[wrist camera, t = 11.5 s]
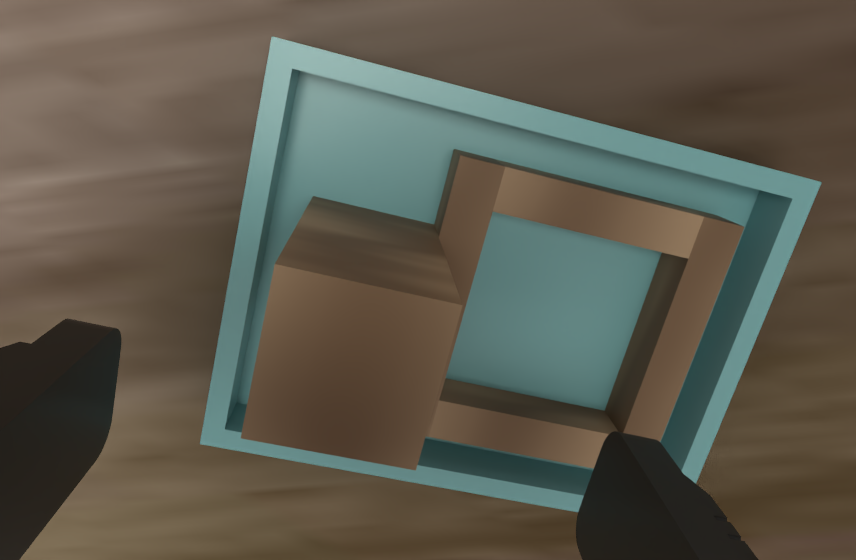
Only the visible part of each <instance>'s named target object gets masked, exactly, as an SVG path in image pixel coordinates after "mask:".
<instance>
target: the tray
mask: <svg viewBox="0 0 856 560" xmlns="http://www.w3.org/2000/svg"><path fill="white" fill-rule="evenodd" d="M454 149H457V150H461V151H465V152H469V153H473V154H477V155H481V156H485V157H489V158H493V159H496V160H500V161H504V162H508V163H512V164H516V165H520V166H524V167H528V168H532V169H536V170H540V171H544V172H548V173H552V174H556V175H560V176H564V177H568V178H572V179H576V180H580V181H584V182H588V183H592V184H596V185H599V186H603V187H607V188H611V189H615V190H619V191H623V192H627V193H631V194H635V195H639V196H643V197H647V198H651V199H655V200H659V201H663V202H667V203H671V204H675V205H679V206H683V207H687V208H691V209H695V210H698V211H702V212H706V213H710V214H714V215H718V216H720V217H722V218H725V219H727V220H729V221H732V222H734V223H737V224H739V225H741V226H744V230H743V232H742V235H741V237H740V240H739V243H738V245H737V248H736V250H735V253H734V255H733V258H732V260H731V263H730V265H729V268H728V271H727V273H726V276H725V278H724V281H723V283H722V286H721V288H720V291H719V293H718V296H717V299H716V301H715V304H714V306H713V309H712V311H711V314H710V316H709V319H708V321H707V324H706V326H705V329H704V332H703V334H702V337H701V339H700V342H699V344H698V347H697V349H696V352H695V354H694V357H693V360H692V362H691V365H690V367H689V370H688V372H687V375H686V377H685V380H684V382H683V385H682V388H681V390H680V393H679V395H678V398H677V400H676V403H675V405H674V408H673V410H672V413H671V416H670V418H669V421H668V423H667V426H666V428H665V431H664V433H663V436H662V438H661V441H660V443H661V444H662V445H663V446H664V448H665V449H666V451H667V452H668V453H669V455H670V456H671V457H672V459H673V460H674V462H675V463H676V464H677V466H678V467H679V469H680V470H681V471H682V473H683V474H684V475H686V476H687V477H688V478H689V479H690V480H692V481H693V482H694V483H695V484H696V482H697V480H698V477H699V475H700V472H701V470H702V468H703V465H704V463H705V460H706V458H707V456H708V453H709V451H710V448H711V446H712V444H713V441H714V439H715V436H716V434H717V432H718V429H719V427H720V424H721V422H722V420H723V417H724V415H725V412H726V410H727V408H728V405H729V403H730V400H731V398H732V396H733V393H734V391H735V389H736V386H737V384H738V381H739V379H740V377H741V374H742V372H743V369H744V367H745V365H746V362H747V360H748V357H749V355H750V353H751V350H752V348H753V345H754V343H755V341H756V338H757V336H758V333H759V331H760V329H761V326H762V324H763V321H764V319H765V317H766V314H767V312H768V309H769V307H770V305H771V302H772V300H773V298H774V295H775V293H776V290H777V288H778V286H779V283H780V281H781V278H782V276H783V274H784V271H785V269H786V266H787V264H788V262H789V259H790V257H791V254H792V252H793V250H794V247H795V245H796V242H797V240H798V238H799V235H800V233H801V230H802V228H803V226H804V223H805V221H806V218H807V216H808V214H809V211H810V209H811V207H812V204H813V202H814V199H815V197H816V195H817V192H818V190H819V187H820V185H821V183H822V182H819V181H815V180H812V179H808V178H804V177H800V176H797V175H793V174H789V173H785V172H781V171H778V170H774V169H770V168H766V167H763V166H759V165H755V164H751V163H748V162H744V161H740V160H736V159H732V158H729V157H725V156H721V155H717V154H714V153H710V152H706V151H702V150H699V149H695V148H691V147H687V146H683V145H680V144H676V143H672V142H668V141H665V140H661V139H657V138H653V137H650V136H646V135H642V134H638V133H634V132H631V131H627V130H623V129H619V128H616V127H612V126H608V125H604V124H601V123H597V122H593V121H589V120H585V119H582V118H578V117H574V116H570V115H567V114H563V113H559V112H555V111H552V110H548V109H544V108H540V107H536V106H533V105H529V104H525V103H521V102H518V101H514V100H510V99H506V98H503V97H499V96H495V95H491V94H487V93H484V92H480V91H476V90H472V89H469V88H465V87H461V86H457V85H454V84H450V83H446V82H442V81H438V80H435V79H431V78H427V77H423V76H420V75H416V74H412V73H408V72H405V71H401V70H397V69H393V68H389V67H386V66H382V65H378V64H374V63H371V62H367V61H363V60H359V59H356V58H352V57H348V56H344V55H340V54H337V53H333V52H329V51H325V50H322V49H318V48H314V47H310V46H307V45H303V44H299V43H295V42H292V41H288V40H284V39H280V38H276V37H273V36H272V38H271V44H270V49H269V55H268V61H267V66H266V72H265V78H264V83H263V89H262V95H261V100H260V106H259V112H258V117H257V123H256V129H255V134H254V140H253V146H252V151H251V157H250V163H249V168H248V174H247V180H246V185H245V191H244V197H243V202H242V208H241V214H240V219H239V225H238V231H237V236H236V242H235V248H234V253H233V259H232V265H231V270H230V276H229V282H228V287H227V293H226V299H225V304H224V310H223V316H222V321H221V327H220V333H219V338H218V344H217V350H216V355H215V361H214V367H213V372H212V378H211V384H210V389H209V395H208V401H207V406H206V412H205V418H204V423H203V429H202V435H201V440H200V444H203V445H208V446H214V447H219V448H225V449H230V450H236V451H241V452H247V453H252V454H258V455H263V456H269V457H275V458H280V459H286V460H291V461H297V462H302V463H308V464H313V465H319V466H324V467H330V468H335V469H341V470H347V471H352V472H358V473H363V474H369V475H374V476H380V477H385V478H391V479H396V480H402V481H407V482H413V483H419V484H424V485H430V486H435V487H441V488H446V489H452V490H457V491H463V492H468V493H474V494H479V495H485V496H491V497H496V498H502V499H507V500H513V501H518V502H524V503H529V504H535V505H540V506H546V507H551V508H557V509H563V510H568V511H574V512H579V508H580V505H581V503H582V500H583V497H584V494H585V492H586V489H587V486H588V483H589V481H590V478H591V475H592V472H593V470H594V468H589V467H583V466H578V465H573V464H568V463H562V462H557V461H552V460H547V459H541V458H536V457H531V456H526V455H521V454H515V453H510V452H505V451H500V450H494V449H489V448H484V447H479V446H473V445H468V444H463V443H458V442H453V441H447V440H442V439H437V438H432V437H425V440H424V444H423V447H422V451H421V454H420V458H419V462H418V465H417V469H416V471H415V470H410V469H404V468H399V467H393V466H388V465H383V464H377V463H372V462H366V461H361V460H355V459H350V458H344V457H339V456H334V455H328V454H323V453H317V452H312V451H306V450H301V449H295V448H290V447H285V446H279V445H274V444H268V443H263V442H257V441H252V440H246V439H241V434H242V428H243V423H244V418H245V413H246V408H247V403H248V398H249V393H250V388H251V382H252V377H253V372H254V367H255V362H256V357H257V352H258V347H259V342H260V336H261V331H262V326H263V321H264V316H265V311H266V306H267V301H268V296H269V290H270V285H271V280H272V275H273V270H274V265H275V263H276V261H277V259H278V257H279V255H280V254H281V252H282V250H283V248H284V247H285V245H286V243H287V241H288V240H289V238H290V236H291V234H292V232H293V231H294V229H295V227H296V225H297V224H298V222H299V220H300V218H301V217H302V215H303V213H304V211H305V209H306V208H307V206H308V204H309V202H310V201H311V199H312V197H313V196H316V197H320V198H324V199H328V200H333V201H337V202H341V203H345V204H350V205H354V206H358V207H362V208H367V209H371V210H375V211H379V212H384V213H388V214H392V215H396V216H401V217H405V218H409V219H413V220H418V221H422V222H426V223H430V224H435V220H436V216H437V212H438V208H439V204H440V201H441V197H442V193H443V189H444V185H445V181H446V177H447V174H448V170H449V166H450V162H451V158H452V154H453V151H454ZM661 253H662V252H658V251H654V250H650V249H646V248H642V247H637V246H633V245H629V244H625V243H621V242H617V241H613V240H608V239H604V238H600V237H596V236H592V235H588V234H584V233H579V232H575V231H571V230H567V229H563V228H559V227H555V226H550V225H546V224H542V223H538V222H534V221H530V220H526V219H521V218H517V217H513V216H509V215H505V214H501V213H497V212H492V216H491V219H490V223H489V226H488V230H487V233H486V237H485V240H484V244H483V247H482V251H481V254H480V258H479V261H478V265H477V269H476V272H475V276H474V279H473V283H472V286H471V290H470V293H469V297H468V300H467V304H466V307H465V311H464V314H463V318H462V321H461V325H460V328H459V332H458V335H457V339H456V343H455V346H454V350H453V353H452V357H451V360H450V364H449V367H448V371H447V374H446V378H447V379H452V380H457V381H462V382H466V383H471V384H476V385H481V386H486V387H491V388H496V389H501V390H506V391H511V392H515V393H520V394H525V395H530V396H535V397H540V398H545V399H550V400H555V401H560V402H564V403H569V404H574V405H579V406H584V407H589V408H594V409H599V410H604V411H605V408H606V405H607V403H608V400H609V397H610V394H611V392H612V389H613V386H614V383H615V381H616V378H617V375H618V372H619V369H620V367H621V364H622V361H623V358H624V356H625V353H626V350H627V347H628V345H629V342H630V339H631V336H632V334H633V331H634V328H635V325H636V322H637V320H638V317H639V314H640V311H641V309H642V306H643V303H644V300H645V298H646V295H647V292H648V289H649V287H650V284H651V281H652V278H653V275H654V273H655V270H656V267H657V264H658V262H659V259H660V256H661Z"/></svg>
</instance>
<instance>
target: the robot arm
mask: <svg viewBox="0 0 856 560" xmlns="http://www.w3.org/2000/svg"><path fill="white" fill-rule="evenodd" d="M120 350H121V334H120V331H119V330H118V329H116V328H111V327H106V326H101V325H96V324H92V323H87V322H82V321H77V320H72V319H65V320H63V321H62V322H60V323H59V324H58V325H56V326H55V327H54V328H52V329H51V330H49V331H48V332H47V333H45V334H44V335H43V336H41V337H40V338H39V339H37V340H36V341H35V342H33V343H32V344H29V343H24V342H18V343H15V344H11V345H8V346H5V347H2V348H0V560H19V559H20V558H21V557H22V555H23V554H24V553H25V552H26V550H27V549H28V548H29V546H30V545H31V544H32V543H33V541H34V540H35V539H36V537H37V536H38V535H39V533H40V532H41V531H42V530H43V528H44V527H45V526H46V524H47V523H48V522H49V521H50V519H51V518H52V517H53V515H54V514H55V513H56V512H57V510H58V509H59V508H60V506H61V505H62V504H63V502H64V501H65V500H66V499H67V497H68V496H69V495H70V493H71V492H72V491H73V490H74V488H75V487H76V486H77V484H78V483H79V482H80V481H81V479H82V478H83V477H84V475H85V474H86V473H87V471H88V470H89V469H90V468H91V466H92V465H93V464H94V462H95V461H96V460H97V458H98V457H99V455H100V453H101V451H102V449H103V447H104V444H105V442H106V439H107V436H108V433H109V430H110V426H111V421H112V414H113V406H114V398H115V390H116V382H117V374H118V366H119V358H120ZM576 539H577V545H578V549H579V552H580V554H581V557H582V559H583V560H758V559H757V557H756V556H755V555H754V553H753V552H752V551H751V549H750V548H749V547H748V545H747V544H746V543H745V541H741V536H740V535H739V533H738V532H737V531H736V529H735V528H734V527H733V525H732V524H731V523H730V522H727V517H726V516H725V515H724V513H723V512H722V511H721V509H720V508H719V507H718V505H717V504H716V503H715V501H714V500H713V499H712V497H711V496H710V495H709V494H707V493H706V492H705V491H704V490H703V489H701V488H700V487H699V486H698V485H697V484H695V483H694V482H693V481H692V480H690V479H689V478H688V477H687V476H686V475H684V474H683V473H682V471H681V470H680V469H679V467H678V466H677V464H676V463H675V462H674V460H673V459H672V457H671V456H670V455H669V453H668V452H667V451H666V449H665V448H664V446H663V445H662V444H661V443H660V442H659V441H658V440H655V439H651V438H646V437H641V436H636V435H631V434H626V433H621V432H616V431H614V432H611V433H610V434H609V435H608V436H607V437H606V439H605V441H604V443H603V445H602V448H601V450H600V453H599V456H598V459H597V461H596V464H595V467H594V470H593V472H592V475H591V478H590V481H589V483H588V486H587V489H586V492H585V494H584V497H583V500H582V503H581V505H580V508H579V512H578V516H577V523H576Z"/></svg>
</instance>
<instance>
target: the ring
mask: <svg viewBox="0 0 856 560" xmlns="http://www.w3.org/2000/svg"><path fill="white" fill-rule="evenodd" d="M492 212H497V213H501V214H505V215H509V216H513V217H517V218H521V219H526V220H530V221H534V222H538V223H542V224H546V225H550V226H555V227H559V228H563V229H567V230H571V231H575V232H579V233H584V234H588V235H592V236H596V237H600V238H604V239H608V240H613V241H617V242H621V243H625V244H629V245H633V246H637V247H642V248H646V249H650V250H654V251H658V252H662V253H661V256H660V259H659V262H658V264H657V267H656V270H655V273H654V275H653V278H652V281H651V284H650V287H649V289H648V292H647V295H646V298H645V300H644V303H643V306H642V309H641V311H640V314H639V317H638V320H637V322H636V325H635V328H634V331H633V334H632V336H631V339H630V342H629V345H628V347H627V350H626V353H625V356H624V358H623V361H622V364H621V367H620V369H619V372H618V375H617V378H616V381H615V383H614V386H613V389H612V392H611V394H610V397H609V400H608V403H607V405H606V408H605V411H604V410H599V409H594V408H589V407H584V406H579V405H574V404H569V403H564V402H560V401H555V400H550V399H545V398H540V397H535V396H530V395H525V394H520V393H515V392H511V391H506V390H501V389H496V388H491V387H486V386H481V385H476V384H471V383H466V382H462V381H457V380H452V379H447V378H446V374H447V371H448V367H449V364H450V360H451V357H452V353H453V350H454V346H455V343H456V339H457V335H458V332H459V328H460V325H461V321H462V318H463V314H464V311H465V307H466V304H467V300H468V297H469V293H470V290H471V286H472V283H473V279H474V276H475V272H476V269H477V265H478V261H479V258H480V254H481V251H482V247H483V244H484V240H485V237H486V233H487V230H488V226H489V223H490V219H491V216H492ZM743 230H744V226H741V225H739V224H737V223H734V222H732V221H729V220H727V219H725V218H722V217H720V216H718V215H714V214H710V213H706V212H702V211H698V210H695V209H691V208H687V207H683V206H679V205H675V204H671V203H667V202H663V201H659V200H655V199H651V198H647V197H643V196H639V195H635V194H631V193H627V192H623V191H619V190H615V189H611V188H607V187H603V186H599V185H596V184H592V183H588V182H584V181H580V180H576V179H572V178H568V177H564V176H560V175H556V174H552V173H548V172H544V171H540V170H536V169H532V168H528V167H524V166H520V165H516V164H512V163H508V162H504V161H500V160H496V159H493V158H489V157H485V156H481V155H477V154H473V153H469V152H465V151H461V150H457V149H454V151H453V154H452V158H451V162H450V166H449V170H448V174H447V177H446V181H445V185H444V189H443V193H442V197H441V201H440V204H439V208H438V212H437V216H436V220H435V224H430V223H426V222H422V221H418V220H413V219H409V218H405V217H401V216H396V215H392V214H388V213H384V212H379V211H375V210H371V209H367V208H362V207H358V206H354V205H350V204H345V203H341V202H337V201H333V200H328V199H324V198H320V197H316V196H313V197H312V199H311V201H310V202H309V204H308V206H307V208H306V209H305V211H304V213H303V215H302V217H301V218H300V220H299V222H298V224H297V225H296V227H295V229H294V231H293V232H292V234H291V236H290V238H289V240H288V241H287V243H286V245H285V247H284V248H283V250H282V252H281V254H280V255H279V257H278V259H277V261H276V263H275V265H274V270H273V275H272V280H271V285H270V290H269V296H268V301H267V306H266V311H265V316H264V321H263V326H262V331H261V336H260V342H259V347H258V352H257V357H256V362H255V367H254V372H253V377H252V382H251V388H250V393H249V398H248V403H247V408H246V413H245V418H244V423H243V428H242V434H241V439H246V440H252V441H257V442H263V443H268V444H274V445H279V446H285V447H290V448H295V449H301V450H306V451H312V452H317V453H323V454H328V455H334V456H339V457H344V458H350V459H355V460H361V461H366V462H372V463H377V464H383V465H388V466H393V467H399V468H404V469H410V470H415V471H416V469H417V465H418V462H419V458H420V454H421V451H422V447H423V444H424V440H425V437H432V438H437V439H442V440H447V441H453V442H458V443H463V444H468V445H473V446H479V447H484V448H489V449H494V450H500V451H505V452H510V453H515V454H521V455H526V456H531V457H536V458H541V459H547V460H552V461H557V462H562V463H568V464H573V465H578V466H583V467H589V468H594V467H595V464H596V461H597V459H598V456H599V453H600V450H601V448H602V445H603V443H604V441H605V439H606V437H607V436H608V435H609V434H610V433H611V432H614V431H616V432H621V433H626V434H631V435H636V436H641V437H646V438H651V439H655V440H658V441H659V442H660V441H661V438H662V436H663V433H664V431H665V428H666V426H667V423H668V421H669V418H670V416H671V413H672V410H673V408H674V405H675V403H676V400H677V398H678V395H679V393H680V390H681V388H682V385H683V382H684V380H685V377H686V375H687V372H688V370H689V367H690V365H691V362H692V360H693V357H694V354H695V352H696V349H697V347H698V344H699V342H700V339H701V337H702V334H703V332H704V329H705V326H706V324H707V321H708V319H709V316H710V314H711V311H712V309H713V306H714V304H715V301H716V299H717V296H718V293H719V291H720V288H721V286H722V283H723V281H724V278H725V276H726V273H727V271H728V268H729V265H730V263H731V260H732V258H733V255H734V253H735V250H736V248H737V245H738V243H739V240H740V237H741V235H742V232H743Z"/></svg>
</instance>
